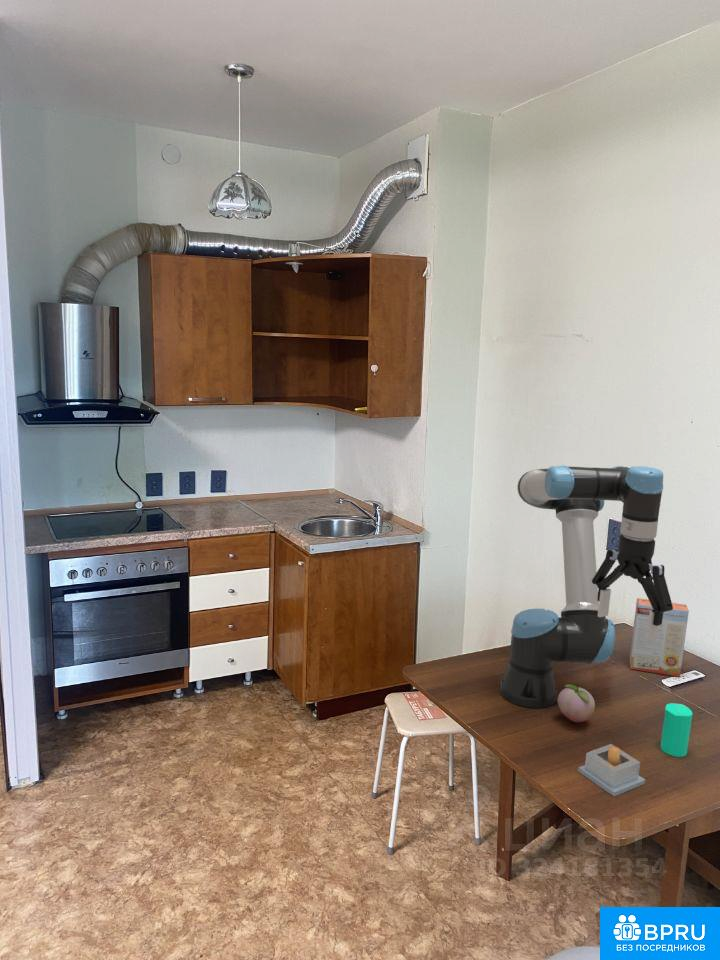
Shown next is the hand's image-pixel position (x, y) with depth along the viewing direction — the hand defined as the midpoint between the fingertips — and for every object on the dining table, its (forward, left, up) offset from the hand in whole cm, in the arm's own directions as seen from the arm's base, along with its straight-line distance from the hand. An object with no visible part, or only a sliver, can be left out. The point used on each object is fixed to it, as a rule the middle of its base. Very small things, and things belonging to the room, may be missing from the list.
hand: (626, 626), depth 162 cm
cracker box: (-25, +48, -32) cm, 63 cm away
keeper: (+7, -8, -32) cm, 33 cm away
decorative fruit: (-14, +3, -32) cm, 35 cm away
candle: (+6, +15, -32) cm, 36 cm away
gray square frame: (+7, -8, -31) cm, 33 cm away
